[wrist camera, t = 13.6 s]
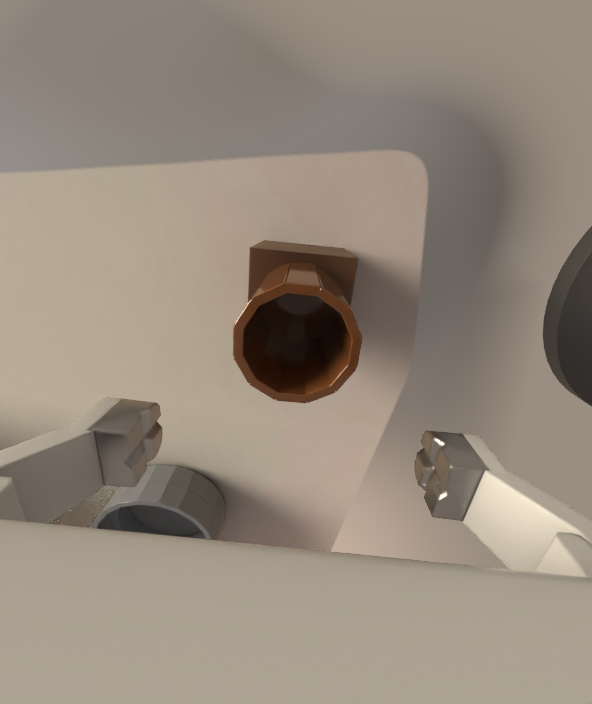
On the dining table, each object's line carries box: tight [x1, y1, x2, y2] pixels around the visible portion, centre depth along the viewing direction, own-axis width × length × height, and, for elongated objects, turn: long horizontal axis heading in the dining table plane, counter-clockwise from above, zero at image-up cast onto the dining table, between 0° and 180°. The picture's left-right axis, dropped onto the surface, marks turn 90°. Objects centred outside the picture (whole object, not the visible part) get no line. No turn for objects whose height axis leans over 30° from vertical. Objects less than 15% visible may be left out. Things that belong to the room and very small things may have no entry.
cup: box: [233, 262, 362, 403], centre depth 19 cm, size 6×6×8 cm
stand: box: [248, 240, 358, 306], centre depth 26 cm, size 7×7×8 cm
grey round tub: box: [92, 464, 225, 540], centre depth 39 cm, size 14×14×6 cm
